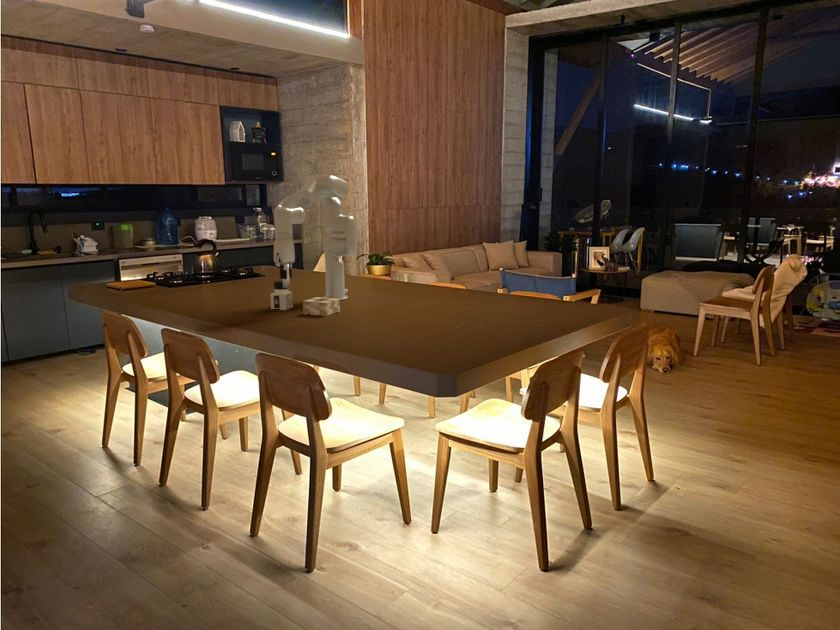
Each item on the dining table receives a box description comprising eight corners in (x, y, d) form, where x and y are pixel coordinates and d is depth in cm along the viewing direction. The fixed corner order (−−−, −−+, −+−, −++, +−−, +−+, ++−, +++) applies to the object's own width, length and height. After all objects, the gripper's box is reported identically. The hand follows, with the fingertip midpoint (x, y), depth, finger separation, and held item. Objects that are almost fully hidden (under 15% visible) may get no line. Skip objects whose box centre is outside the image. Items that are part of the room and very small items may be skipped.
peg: (285, 286, 284) (284, 259, 281) (291, 287, 283) (290, 260, 280) (281, 287, 281) (280, 260, 278) (287, 288, 280) (286, 261, 277)
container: (286, 310, 294) (285, 282, 292) (270, 309, 296) (269, 282, 293) (293, 307, 302) (292, 280, 299) (277, 306, 303) (276, 279, 301)
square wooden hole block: (317, 309, 296) (317, 297, 295) (340, 311, 291) (339, 298, 290) (303, 314, 285) (302, 301, 284) (326, 316, 280) (326, 302, 279)
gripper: (287, 234, 286) (289, 275, 290) (265, 238, 271) (267, 280, 275) (301, 235, 283) (303, 276, 287) (280, 238, 268) (282, 281, 272)
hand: (286, 277), depth 281 cm, fingers closed on peg, 3 cm apart
